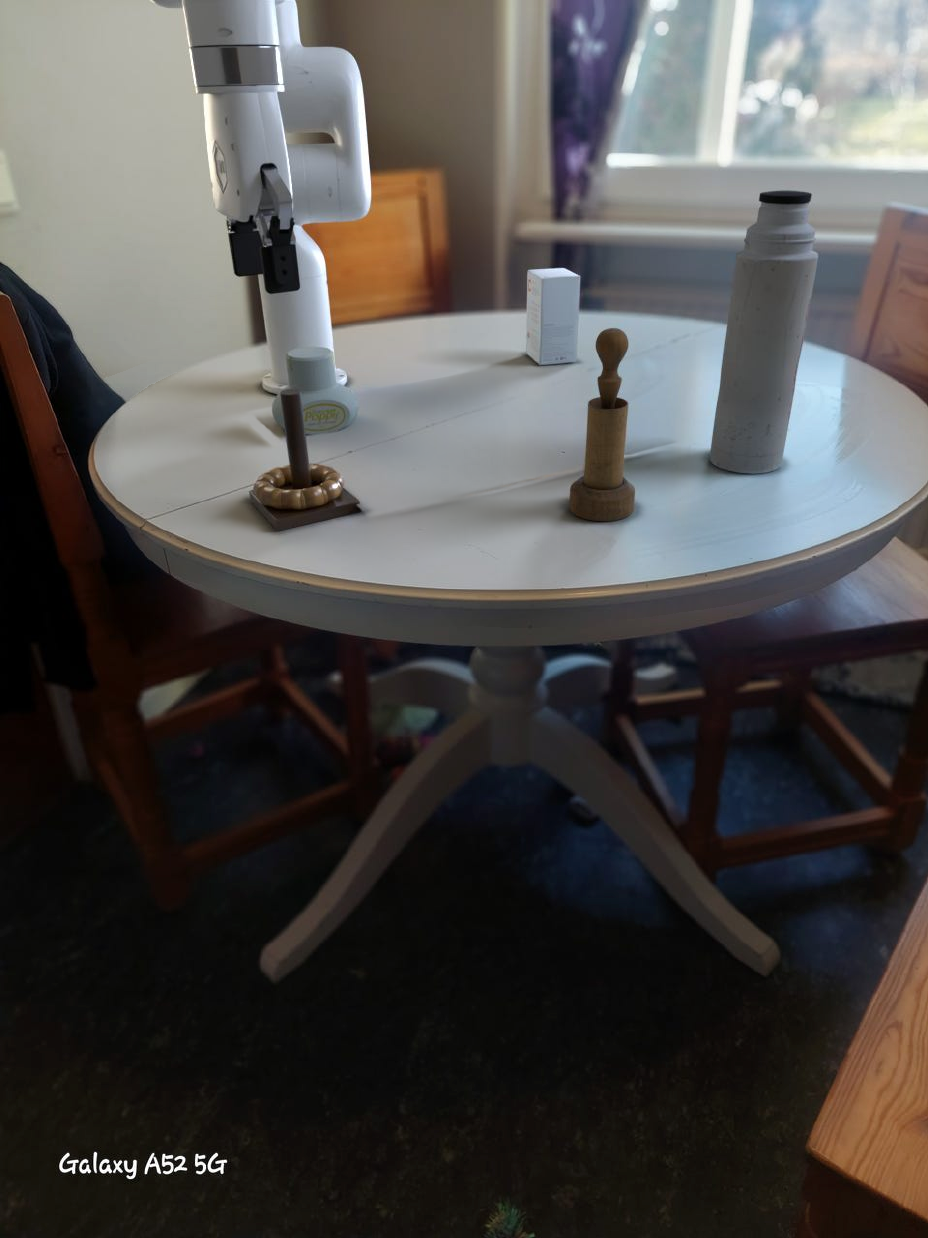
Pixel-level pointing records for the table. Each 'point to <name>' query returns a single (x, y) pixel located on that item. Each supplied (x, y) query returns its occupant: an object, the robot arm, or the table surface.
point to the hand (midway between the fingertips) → (266, 282)
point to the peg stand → (301, 474)
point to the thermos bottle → (765, 335)
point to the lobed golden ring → (298, 499)
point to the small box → (552, 315)
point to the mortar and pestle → (605, 442)
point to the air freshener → (318, 392)
